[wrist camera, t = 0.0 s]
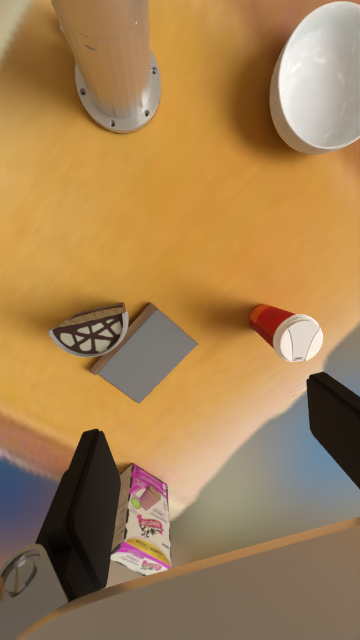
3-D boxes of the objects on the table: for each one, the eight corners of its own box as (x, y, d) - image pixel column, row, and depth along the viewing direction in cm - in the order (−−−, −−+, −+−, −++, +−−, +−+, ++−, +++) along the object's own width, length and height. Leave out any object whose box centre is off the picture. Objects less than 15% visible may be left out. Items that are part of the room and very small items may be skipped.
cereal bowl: (239, 132, 41) (256, 108, 34) (290, 19, 37) (321, -33, 30) (319, 183, 44) (349, 170, 37) (372, 83, 41) (416, 50, 34)
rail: (90, 367, 49) (88, 370, 48) (150, 302, 47) (150, 303, 45) (96, 371, 49) (94, 375, 48) (156, 307, 47) (156, 309, 46)
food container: (78, 345, 48) (58, 368, 38) (67, 315, 46) (44, 332, 36) (139, 330, 48) (136, 350, 38) (131, 300, 46) (125, 313, 37)
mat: (97, 372, 49) (97, 373, 49) (157, 308, 47) (157, 308, 47) (139, 402, 52) (139, 403, 52) (197, 343, 50) (197, 344, 50)
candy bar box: (168, 483, 59) (173, 567, 43) (154, 496, 60) (154, 583, 44) (132, 460, 56) (124, 541, 40) (118, 474, 57) (104, 559, 41)
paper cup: (277, 335, 51) (321, 364, 38) (242, 335, 50) (274, 365, 37) (282, 298, 49) (330, 316, 36) (245, 298, 48) (281, 316, 35)
